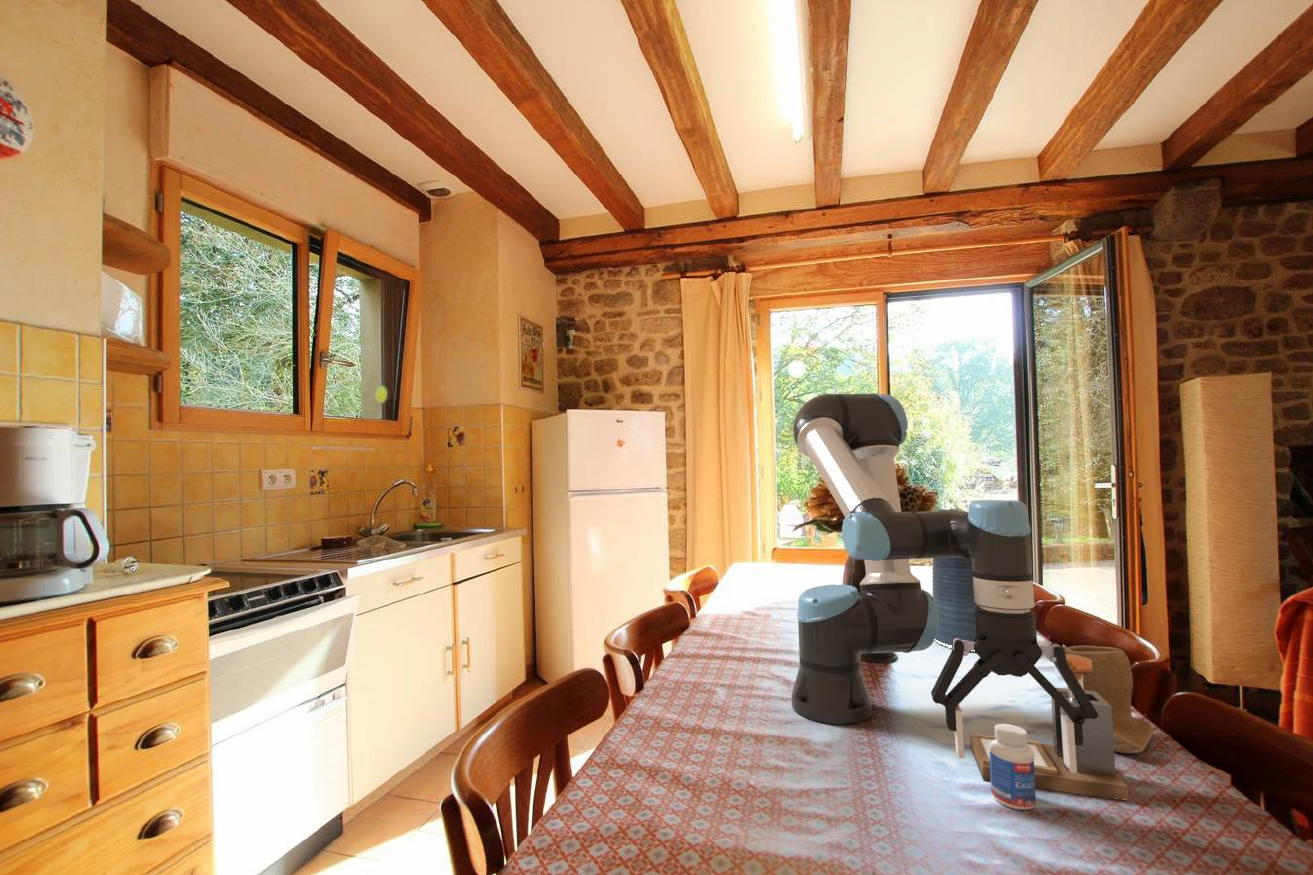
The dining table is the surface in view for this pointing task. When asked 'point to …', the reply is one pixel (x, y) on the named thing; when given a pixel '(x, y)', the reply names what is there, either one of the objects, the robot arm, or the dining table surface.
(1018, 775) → the pill bottle
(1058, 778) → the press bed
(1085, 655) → the tan suede boot
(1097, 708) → the press frame
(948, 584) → the vase
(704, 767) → the dining table surface
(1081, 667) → the orange capped plunger
